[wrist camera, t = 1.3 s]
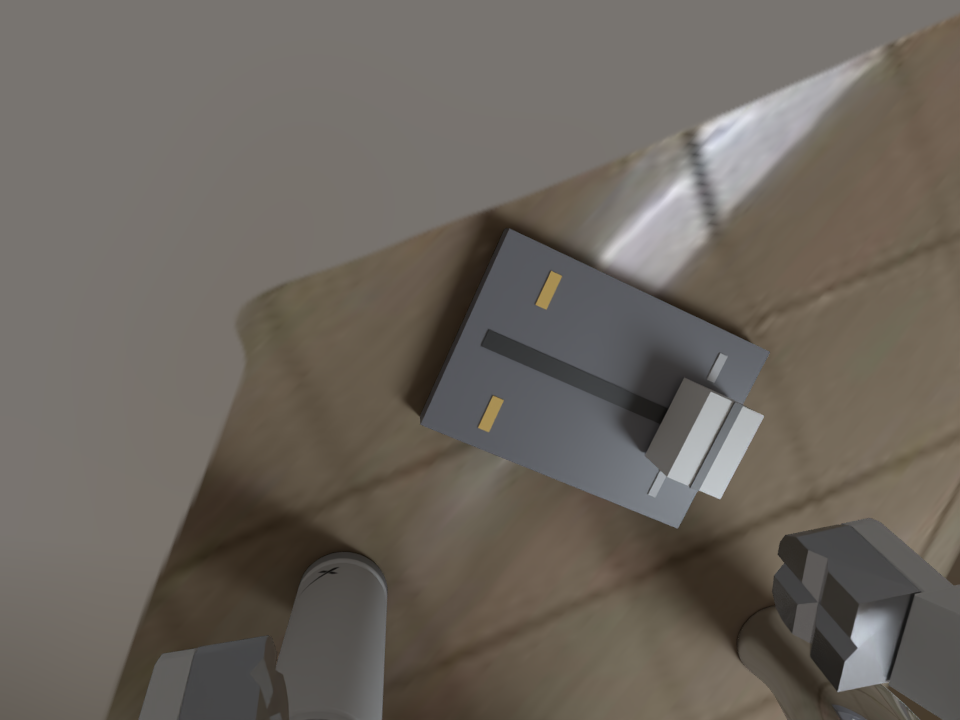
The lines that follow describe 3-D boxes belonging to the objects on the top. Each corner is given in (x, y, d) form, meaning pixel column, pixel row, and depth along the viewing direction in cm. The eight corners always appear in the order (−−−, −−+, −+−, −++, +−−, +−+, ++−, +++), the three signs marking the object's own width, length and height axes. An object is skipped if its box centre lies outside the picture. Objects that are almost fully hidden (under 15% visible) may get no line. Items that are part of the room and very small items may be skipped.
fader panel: (755, 346, 48) (770, 352, 46) (667, 516, 50) (678, 529, 48) (504, 228, 44) (509, 228, 42) (419, 416, 46) (420, 425, 44)
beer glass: (713, 653, 53) (832, 818, 38) (767, 584, 52) (910, 724, 37) (777, 692, 54) (917, 865, 39) (831, 625, 53) (992, 776, 39)
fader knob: (734, 399, 46) (766, 415, 42) (693, 477, 47) (721, 500, 43) (684, 376, 45) (712, 391, 41) (644, 456, 46) (667, 478, 42)
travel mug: (310, 537, 47) (246, 757, 28) (399, 564, 48) (397, 794, 29) (282, 615, 48) (200, 881, 28) (370, 639, 49) (348, 911, 30)
